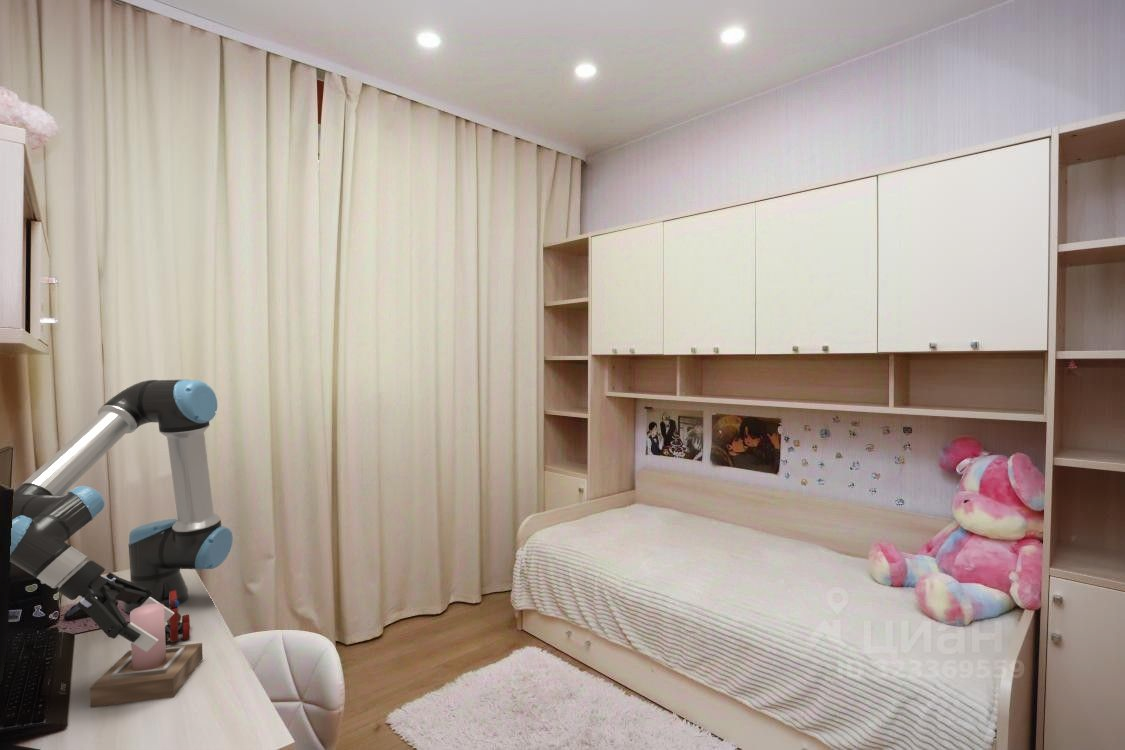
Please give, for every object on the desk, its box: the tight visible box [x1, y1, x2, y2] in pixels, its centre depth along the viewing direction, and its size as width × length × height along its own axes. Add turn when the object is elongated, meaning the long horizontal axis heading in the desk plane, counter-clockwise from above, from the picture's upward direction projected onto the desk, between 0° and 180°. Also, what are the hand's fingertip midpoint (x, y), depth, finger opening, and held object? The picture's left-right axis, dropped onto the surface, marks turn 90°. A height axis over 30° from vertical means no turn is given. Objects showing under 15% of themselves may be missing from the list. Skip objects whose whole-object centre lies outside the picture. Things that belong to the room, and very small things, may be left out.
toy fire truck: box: [165, 590, 191, 643], centre depth 144 cm, size 7×12×10 cm, turn 34°
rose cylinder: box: [129, 603, 167, 671], centre depth 125 cm, size 6×6×12 cm
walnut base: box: [89, 642, 204, 708], centre depth 125 cm, size 15×15×5 cm
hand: (161, 631), depth 125 cm, fingers open, 13 cm apart
